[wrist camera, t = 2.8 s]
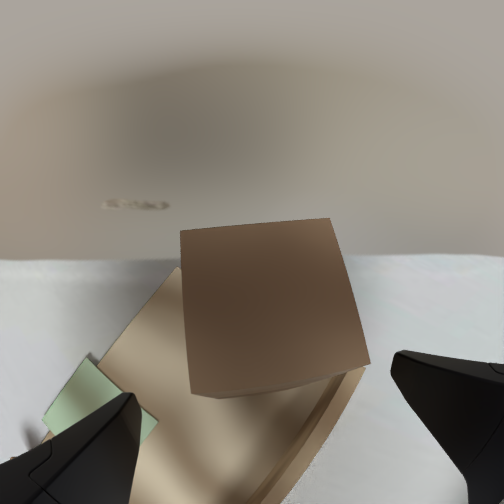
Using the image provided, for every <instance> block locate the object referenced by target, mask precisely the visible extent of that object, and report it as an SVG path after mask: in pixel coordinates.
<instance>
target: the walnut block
mask: <svg viewBox="0 0 504 504" xmlns="http://www.w3.org/2000/svg"><path fill="white" fill-rule="evenodd" d="M180 241H181V242H180V243H181V275H182V296H183V313H184V327H185V340H186V351H187V362H188V372H189V382H190V390H191V394H194V395H199V396H204V397H209V398H215V399H227V398H236V397H244V396H252V395H259V394H266V393H272V392H278V391H284V390H289V389H293V388H296V387H300V386H303V385H307V384H310V383H314V382H317V381H321V380H324V379H327V378H330V377H333V376H336V375H339V374H343V373H345V372H348V371H351V370H354V369H357V368H360V367H363V366H365V365H368V364H371V363H370V359H369V354H368V350H367V346H366V341H365V337H364V333H363V329H362V325H361V321H360V317H359V314H358V310H357V306H356V302H355V299H354V295H353V292H352V288H351V285H350V281H349V278H348V274H347V271H346V268H345V264H344V261H343V258H342V255H341V251H340V248H339V245H338V242H337V239H336V236H335V233H334V230H333V227H332V224H331V221H330V218H321V219H307V220H294V221H281V222H269V223H257V224H245V225H235V226H223V227H213V228H203V229H192V230H183V231H180Z"/></svg>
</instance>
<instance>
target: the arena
mask: <svg viewBox="0 0 504 504" xmlns="http://www.w3.org/2000/svg"><path fill="white" fill-rule="evenodd" d="M365 369H366V368H365V367H360V368H357V369H354V370H351V371H348V372H345V373H343V374H339V375H336V376H333V377H330V378H327V379H324V380H321V381H317V382H314V383H310V384H307V385H303V386H300V387H296V388H293V389H289V390H284V391H278V392H272V393H266V394H259V395H252V396H244V397H236V398H227V399H215V398H209V397H204V396H199V395H194V394H191V390H190V382H189V372H188V362H187V351H186V340H185V327H184V313H183V296H182V275H181V269H180V268H179V267H176V268H175V269H174V271H173V272H172V273H171V274H170V275H169V276H168V278H167V279H166V280H165V281H164V282H163V284H162V285H161V286H160V287H159V288H158V290H157V291H156V292H155V293H154V294H153V296H152V297H151V298H150V299H149V301H148V302H147V303H146V304H145V305H144V307H143V308H142V309H141V310H140V312H139V313H138V314H137V315H136V317H135V318H134V319H133V320H132V321H131V323H130V324H129V325H128V326H127V328H126V329H125V330H124V332H123V333H122V334H121V335H120V337H119V338H118V339H117V340H116V342H115V343H114V344H113V346H112V347H111V348H110V349H109V351H108V352H107V353H106V355H105V356H104V357H103V358H102V360H101V361H100V362H99V364H98V365H97V366H95V365H94V364H93V363H92V362H91V361H90V360H89V359H88V358H85V360H84V361H83V362H82V364H81V365H80V366H79V368H78V369H77V371H76V372H75V373H74V375H73V376H72V377H71V379H70V380H69V381H68V383H67V384H66V386H65V387H64V388H63V390H62V391H61V393H60V394H59V395H58V397H57V398H56V400H55V401H54V403H53V404H52V405H51V407H50V408H49V410H48V411H47V413H46V414H45V416H44V417H43V419H42V421H43V422H44V423H45V425H46V426H47V427H48V428H49V429H50V431H49V433H48V434H47V436H46V437H45V439H44V440H43V442H42V443H44V442H45V441H47V440H49V439H51V438H53V437H54V436H56V435H57V434H59V433H61V432H62V431H64V430H65V429H67V428H69V427H70V426H72V425H73V424H75V423H76V422H78V421H80V420H81V419H83V418H84V417H86V416H87V415H89V414H90V413H92V412H93V411H95V410H97V409H98V408H100V407H101V406H103V405H104V404H106V403H107V402H109V401H110V400H112V399H113V398H115V397H116V396H118V395H119V394H121V393H123V392H133V393H134V394H135V396H136V398H137V400H138V403H139V405H140V408H141V410H142V424H141V436H140V448H139V454H138V459H137V464H136V468H135V473H134V478H133V484H132V489H131V494H130V500H129V504H280V503H281V502H282V501H283V499H284V498H285V497H286V496H287V494H288V493H289V492H290V491H291V489H292V488H293V487H294V485H295V484H296V483H297V481H298V480H299V479H300V477H301V476H302V474H303V473H304V472H305V470H306V469H307V467H308V466H309V465H310V463H311V462H312V460H313V459H314V457H315V456H316V454H317V453H318V451H319V450H320V448H321V447H322V445H323V444H324V442H325V440H326V439H327V437H328V436H329V434H330V432H331V431H332V429H333V427H334V426H335V424H336V422H337V421H338V419H339V417H340V416H341V414H342V412H343V410H344V409H345V407H346V405H347V403H348V402H349V400H350V398H351V396H352V394H353V392H354V390H355V389H356V387H357V385H358V383H359V381H360V379H361V377H362V375H363V373H364V371H365ZM42 443H41V444H42ZM13 458H15V457H11V459H13ZM11 459H10V460H11Z"/></svg>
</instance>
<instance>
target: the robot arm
mask: <svg viewBox="0 0 504 504" xmlns="http://www.w3.org/2000/svg"><path fill="white" fill-rule="evenodd" d="M390 373H391V376H392V378H393V380H394V382H395V383H396V385H397V386H398V388H399V390H400V391H401V393H402V395H403V396H404V398H405V400H406V401H407V403H408V404H409V405H410V407H411V408H412V409H413V411H414V412H415V413H416V414H417V416H418V417H419V418H420V420H421V421H422V422H423V423H424V425H425V426H426V427H427V429H428V430H429V431H430V432H431V434H432V435H433V436H434V438H435V439H436V440H437V442H438V443H439V444H440V446H441V447H442V448H443V450H444V451H445V452H446V453H447V455H448V456H449V457H450V459H451V460H452V461H453V463H454V464H455V466H456V467H457V468H458V470H459V471H460V472H461V474H462V475H463V476H464V478H465V480H466V483H467V489H468V503H469V504H499V503H500V502H501V501H502V500H503V501H504V364H497V363H486V362H478V361H471V360H463V359H457V358H450V357H443V356H437V355H431V354H425V353H419V352H414V351H408V350H402V351H399V352H396V353H395V354H394V357H393V362H392V366H391V370H390ZM141 424H142V410H141V408H140V405H139V403H138V400H137V398H136V396H135V394H134V393H133V392H123V393H121V394H119V395H118V396H116V397H115V398H113V399H112V400H110V401H109V402H107V403H106V404H104V405H103V406H101V407H100V408H98V409H97V410H95V411H93V412H92V413H90V414H89V415H87V416H86V417H84V418H83V419H81V420H80V421H78V422H76V423H75V424H73V425H72V426H70V427H69V428H67V429H65V430H64V431H62V432H61V433H59V434H57V435H56V436H54V437H53V438H51V439H49V440H47V441H45V442H44V443H42V444H40V445H39V446H37V447H35V448H33V449H32V450H30V451H28V452H26V453H24V454H22V455H20V456H17V457H15V458H13V459H11V460H9V461H6V462H4V463H2V464H0V504H129V500H130V494H131V489H132V484H133V478H134V473H135V468H136V464H137V459H138V454H139V448H140V436H141Z"/></svg>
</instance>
